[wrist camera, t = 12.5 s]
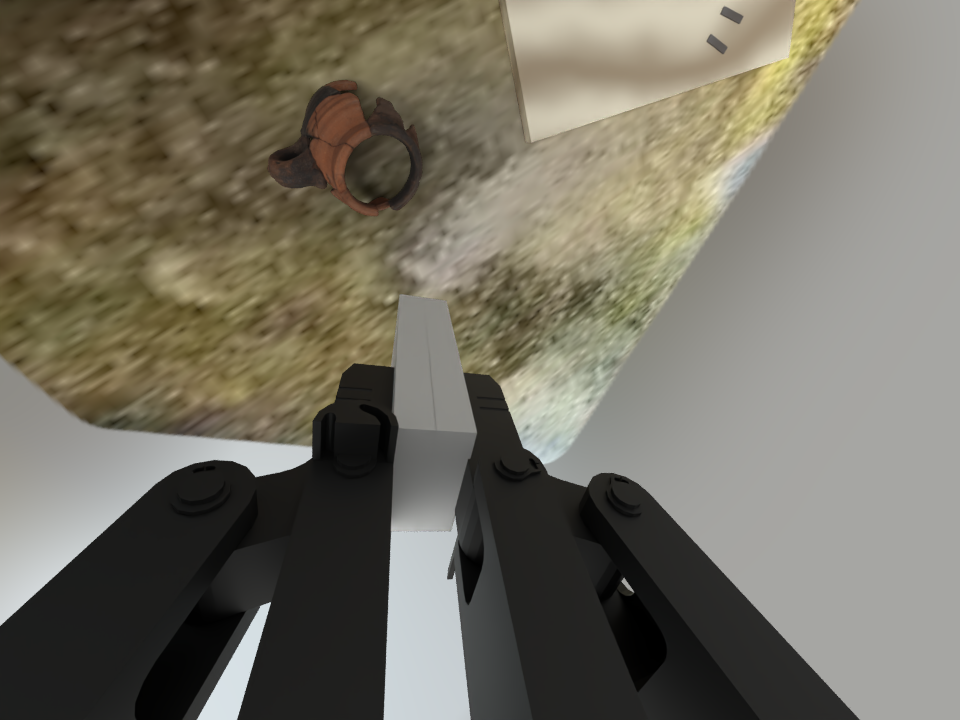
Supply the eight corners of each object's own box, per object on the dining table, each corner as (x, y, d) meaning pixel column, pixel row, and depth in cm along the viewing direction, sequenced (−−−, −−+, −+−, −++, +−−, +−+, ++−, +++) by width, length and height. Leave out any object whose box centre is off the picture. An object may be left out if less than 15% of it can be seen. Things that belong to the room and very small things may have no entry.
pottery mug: (376, 54, 32) (418, 90, 27) (406, 164, 40) (441, 205, 35) (231, 102, 29) (252, 150, 25) (293, 209, 37) (317, 259, 33)
